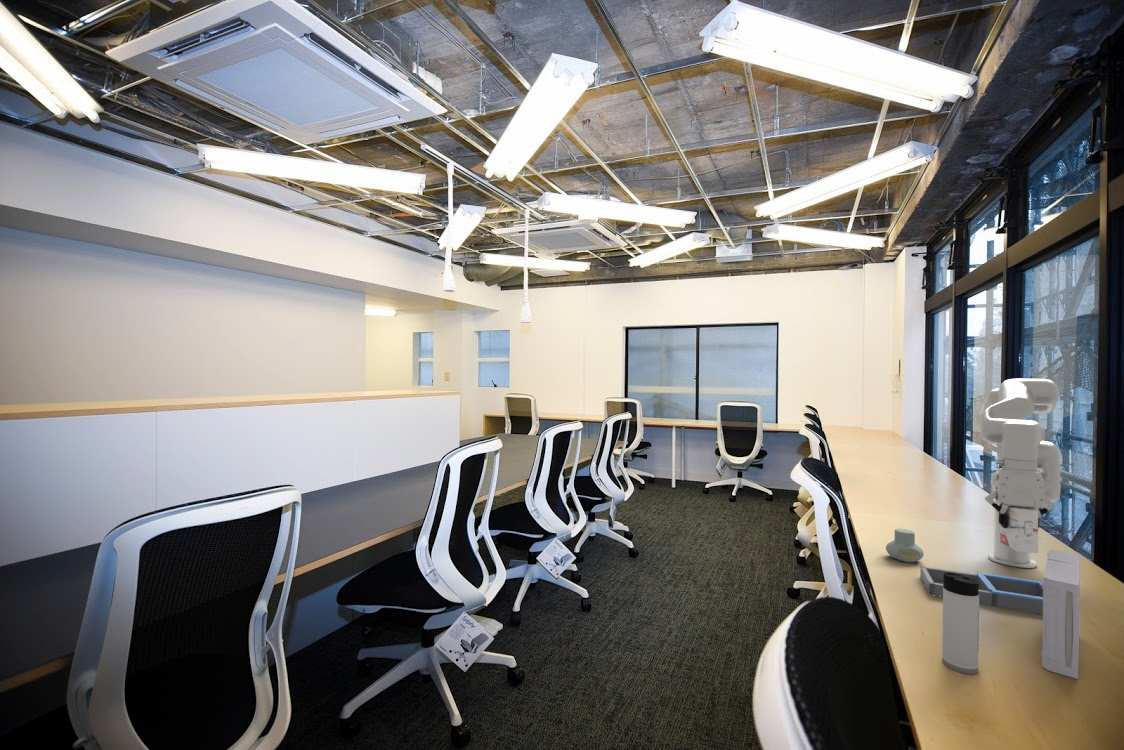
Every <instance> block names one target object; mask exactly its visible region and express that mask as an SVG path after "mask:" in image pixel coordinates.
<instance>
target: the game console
mask: <svg viewBox="0 0 1124 750" xmlns="http://www.w3.org/2000/svg"><path fill="white" fill-rule="evenodd" d="M1046 559H1047V560H1046V565H1045V570H1044V574H1043V576H1042V577H1043V579H1042V588H1043V614H1042V650H1041V651H1040V657H1041V658H1042V659H1041V661H1042V667H1043V668H1044V669H1046V670H1048V671H1049V672H1053V673H1056V674H1059V675H1062V676H1066V677H1069V678H1072V679H1076V680H1078V679H1079V658H1080V657H1079V655H1080V653H1079V652H1080V647H1079V646H1080V607H1081V606H1080V605H1081V604H1080V594H1081V593H1080V592H1081V589H1080V586H1081V584H1080V582H1081V554H1077V553H1072V552H1068V551H1066V552H1065V551H1061V550H1056V549H1055V550H1054V549H1049V550H1048V552H1047V558H1046Z"/></svg>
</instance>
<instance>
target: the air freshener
mask: <svg viewBox="0 0 1124 750" xmlns="http://www.w3.org/2000/svg"><path fill="white" fill-rule="evenodd" d="M915 539H916V533H915V531H913V530H911V529H908V528H895V529H894V540H892V541H889V542H888V543H887V544H886V546H885V551H886V553H887V554H888V555H890V557H891V558H893V559H895V560H898V561H900V562H903V563H914V562H919V561H920V560H921V559H923V557H924V551H923V549H922V548H921V546H919V545H918V544H916V540H915Z"/></svg>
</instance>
